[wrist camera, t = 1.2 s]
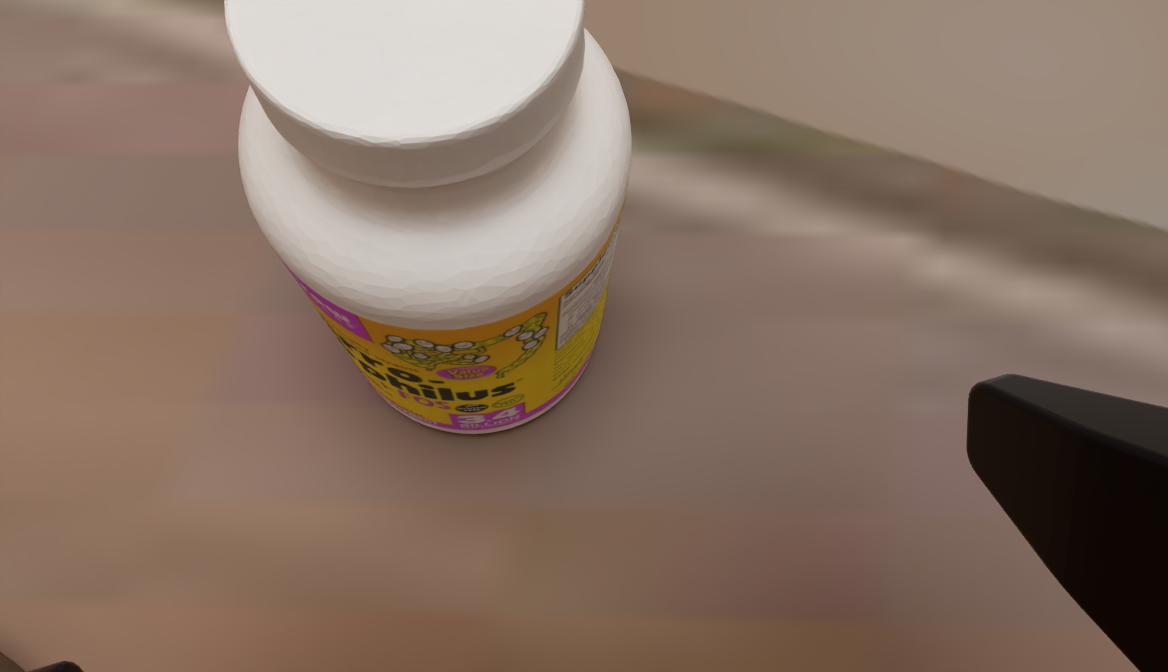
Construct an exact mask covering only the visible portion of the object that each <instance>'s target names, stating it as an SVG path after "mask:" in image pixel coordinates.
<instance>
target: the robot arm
mask: <svg viewBox="0 0 1168 672" xmlns="http://www.w3.org/2000/svg"><path fill="white" fill-rule="evenodd" d="M967 454H968V458H969V461H970V464H971V465H972V467H973V469H974V471H975V472H976V474H977V475H978V477H979V478H980V479H981V481H982V482H983V483H984V485H985V486H986V487H987V488H988V490H989V491H990V492H991V494H992V495H993V496H994V498H995V499H996V500H997V502H998V503H999V504H1000V506H1001V507H1002V508H1003V510H1004V511H1005V512H1006V514H1007V515H1008V516H1009V518H1010V519H1011V520H1012V522H1013V523H1014V524H1015V526H1016V527H1017V528H1018V530H1019V531H1020V532H1021V533H1022V535H1023V536H1024V537H1025V539H1026V540H1027V541H1028V543H1029V544H1030V545H1031V547H1032V548H1033V549H1034V551H1035V552H1036V553H1037V555H1038V556H1039V557H1040V559H1041V560H1042V561H1043V563H1044V564H1045V565H1046V567H1047V568H1048V569H1049V570H1050V572H1051V573H1052V574H1053V575H1054V577H1055V578H1056V579H1057V580H1058V581H1059V583H1060V584H1061V585H1062V586H1063V588H1064V589H1065V590H1066V591H1067V592H1068V593H1069V594H1070V596H1071V597H1072V598H1073V599H1074V600H1075V601H1076V602H1077V604H1078V605H1079V606H1080V607H1081V608H1082V609H1083V610H1084V611H1085V612H1086V613H1087V615H1088V616H1089V617H1090V618H1091V619H1092V620H1093V621H1094V622H1095V623H1096V624H1097V625H1098V626H1099V628H1100V629H1101V630H1102V631H1103V632H1104V633H1105V634H1106V635H1107V636H1108V637H1109V638H1110V639H1111V640H1112V642H1113V643H1114V644H1115V645H1116V646H1117V647H1118V648H1119V649H1120V650H1121V651H1122V652H1123V653H1124V655H1125V656H1126V657H1127V658H1128V659H1129V660H1130V661H1131V662H1132V663H1133V664H1134V665H1135V666H1136V668H1137V669H1138V670H1139V671H1140V672H1168V408H1166V407H1162V406H1157V405H1153V404H1148V403H1143V402H1139V401H1134V400H1130V399H1125V398H1121V397H1116V396H1112V395H1107V394H1103V393H1098V392H1094V391H1089V390H1085V389H1080V388H1076V387H1071V386H1067V385H1062V384H1057V383H1053V382H1048V381H1044V380H1039V379H1035V378H1030V377H1026V376H1021V375H1017V374H1005V375H1002V376H998V377H995V378H992V379H989V380H985V381H982V382H979V383H977V384H976V385H974V386H973V387H972V389H971V391H970V393H969V399H968V423H967ZM29 672H83V671H82V669H81V668H80V667H79V666H78V665H76V664H75V663H73V662H69V661H62V662H58V663H55V664H52V665H48V666H45V667H42V668H38V669H35V670H32V671H29Z"/></svg>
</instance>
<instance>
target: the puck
mask: <svg viewBox="0 0 1168 672" xmlns="http://www.w3.org/2000/svg"><path fill="white" fill-rule="evenodd" d="M0 672H23V671H22V669H21V668H20V667H19V666H17V665H16V664H15V663H13V662H12V661H10V660H9V659H8V658H6V657H5V656H4V655H2V654H1V653H0Z"/></svg>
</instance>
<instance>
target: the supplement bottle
mask: <svg viewBox="0 0 1168 672" xmlns="http://www.w3.org/2000/svg"><path fill="white" fill-rule="evenodd" d="M224 5H225V21H226V27H227V33H228V37H229V40H230V43H231V46H232V49H233V52H234V55H235V57H236V59H237V61H238V63H239V65H240V67H241V69H242V71H243V72H244V74H245V76H246V78H247V80H248V82H249V84H250V86H249V89H248V92H247V95H246V98H245V101H244V104H243V109H242V114H241V120H240V125H239V140H238V150H239V165H240V172H241V178H242V182H243V186H244V189H245V193H246V196H247V199H248V202H249V205H250V208H251V210H252V213H253V215H254V217H255V219H256V221H257V223H258V225H259V226H260V228H261V230H262V232H263V234H264V235H265V237H266V238H267V240H268V241H269V243H270V244H271V246H272V247H273V249H274V250H275V252H276V253H277V254H278V256H279V257H280V259H281V260H282V262H283V263H284V264H285V266H286V267H287V268H288V270H289V271H290V272H291V274H292V275H293V276H294V278H295V279H296V280H297V282H298V283H299V284H300V286H301V287H302V289H303V290H304V292H305V293H306V294H307V296H308V297H309V299H310V300H311V302H312V303H313V304H314V306H315V307H316V309H317V310H318V311H319V313H320V314H321V316H322V318H323V319H324V320H325V322H326V323H327V324H328V326H329V327H330V328H331V330H332V331H333V332H334V334H335V335H336V337H337V338H338V340H339V341H340V342H341V344H342V345H343V346H344V348H345V349H346V351H347V352H348V353H349V355H350V356H351V358H352V359H353V360H354V362H355V364H356V365H357V366H358V368H359V369H360V370H361V372H362V373H363V374H364V376H365V377H366V379H367V380H368V381H369V383H370V384H371V385H372V386H373V387H374V389H375V390H376V391H377V392H378V393H379V394H380V395H381V396H382V397H383V398H384V399H385V400H386V401H387V402H388V403H389V404H390V405H391V406H393V407H394V408H395V409H396V410H398V411H399V412H401V413H402V414H404V415H405V416H407V417H409V418H411V419H412V420H414V421H416V422H419V423H421V424H423V425H425V426H429V427H432V428H435V429H439V430H443V431H447V432H453V433H462V434H482V433H491V432H497V431H502V430H506V429H510V428H513V427H516V426H518V425H521V424H524V423H526V422H528V421H530V420H532V419H534V418H536V417H538V416H539V415H541V414H543V413H544V412H546V411H547V410H549V409H550V408H551V407H553V406H554V405H555V404H556V403H557V402H559V401H560V400H561V399H562V398H563V397H564V396H565V395H566V394H567V393H568V392H569V391H570V389H571V388H572V387H573V386H574V384H575V383H576V382H577V381H578V379H579V377H580V376H581V374H582V373H583V371H584V369H585V368H586V365H587V363H588V361H589V359H590V357H591V354H592V352H593V349H594V346H595V344H596V341H597V337H598V333H599V329H600V325H601V321H602V316H603V310H604V305H605V300H606V295H607V289H608V284H609V279H610V274H611V268H612V263H613V258H614V252H615V247H616V242H617V237H618V232H619V227H620V221H621V216H622V212H623V207H624V203H625V199H626V191H627V186H628V179H629V172H630V165H631V152H632V140H631V126H630V118H629V111H628V107H627V103H626V100H625V97H624V94H623V91H622V88H621V85H620V82H619V80H618V78H617V76H616V74H615V72H614V70H613V68H612V66H611V64H610V62H609V60H608V58H607V57H606V55H605V54H604V52H603V51H602V49H601V47H600V46H599V45H598V43H597V42H596V41H595V40H594V38H593V37H592V36H591V34H590V33H589V32H588V31H587V30H586V29H585V28H584V13H585V1H584V0H225V2H224Z"/></svg>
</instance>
